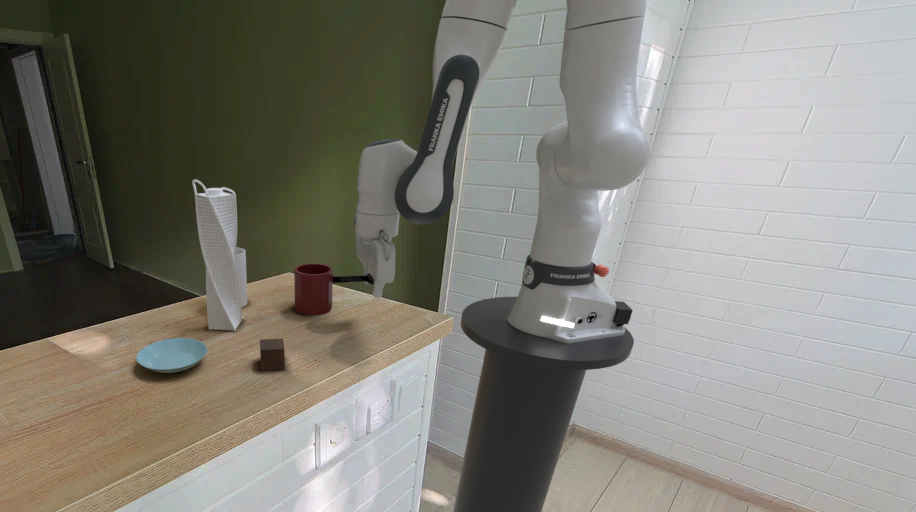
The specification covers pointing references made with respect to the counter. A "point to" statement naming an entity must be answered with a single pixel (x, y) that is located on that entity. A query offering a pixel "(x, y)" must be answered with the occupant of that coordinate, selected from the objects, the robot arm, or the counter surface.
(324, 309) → the pot
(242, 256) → the mug
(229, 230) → the skyscraper
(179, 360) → the saucer
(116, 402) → the counter surface
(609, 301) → the robot arm
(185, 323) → the counter surface
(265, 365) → the block
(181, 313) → the counter surface
